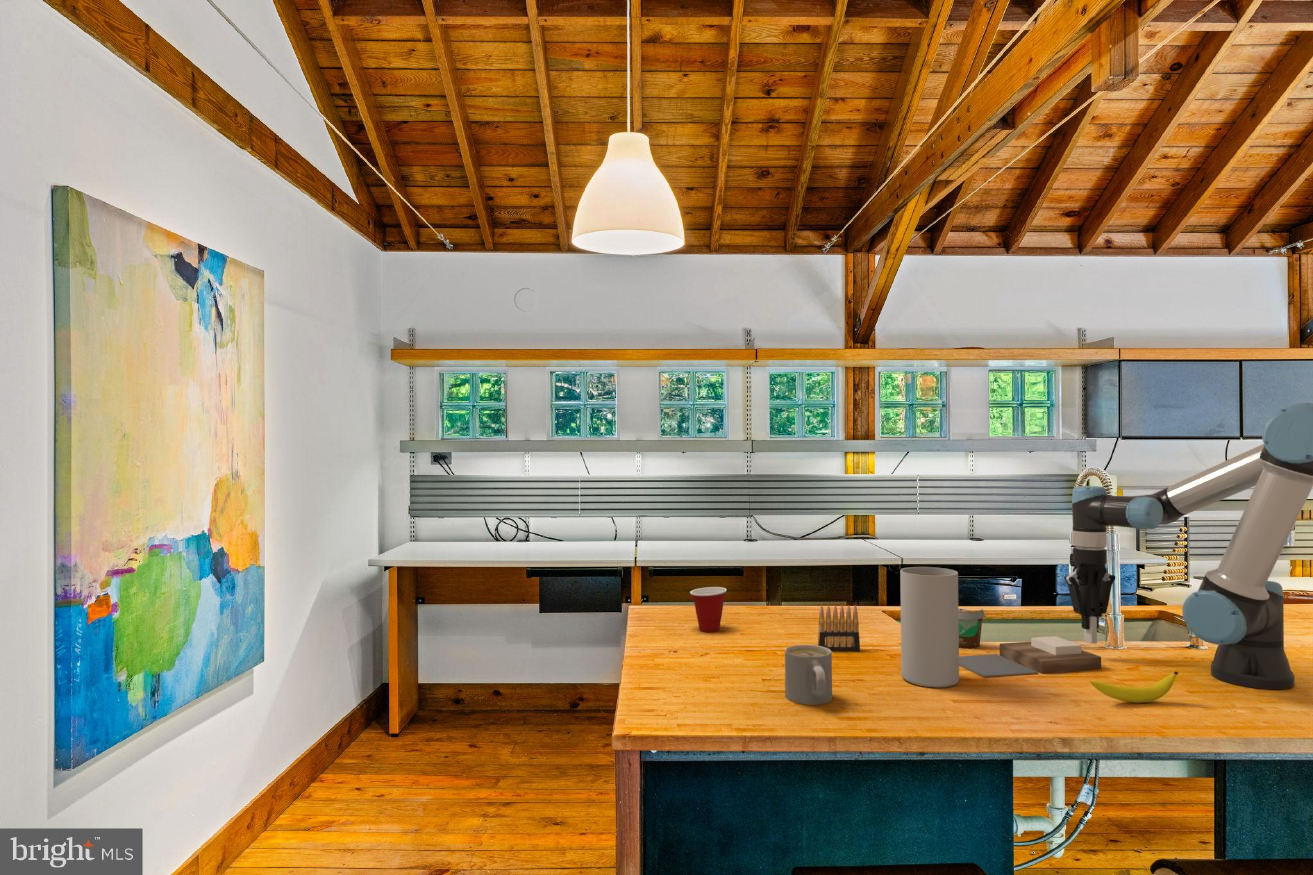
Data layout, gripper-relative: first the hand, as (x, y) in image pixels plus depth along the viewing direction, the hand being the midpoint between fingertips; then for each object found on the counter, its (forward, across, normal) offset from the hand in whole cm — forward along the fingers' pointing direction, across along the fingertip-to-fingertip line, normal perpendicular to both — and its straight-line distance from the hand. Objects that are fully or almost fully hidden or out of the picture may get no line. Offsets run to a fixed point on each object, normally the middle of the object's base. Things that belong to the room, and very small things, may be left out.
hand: (1090, 641), depth 193 cm
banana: (+5, +15, +30) cm, 34 cm away
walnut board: (+4, +12, 0) cm, 13 cm away
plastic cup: (+5, +86, -49) cm, 99 cm away
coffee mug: (+5, +80, +15) cm, 81 cm away
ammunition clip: (+5, +58, -20) cm, 62 cm away
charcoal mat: (+4, +28, 0) cm, 28 cm away
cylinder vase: (+5, +48, +8) cm, 49 cm away
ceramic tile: (+1, +10, 0) cm, 10 cm away
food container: (+5, +25, -18) cm, 31 cm away
